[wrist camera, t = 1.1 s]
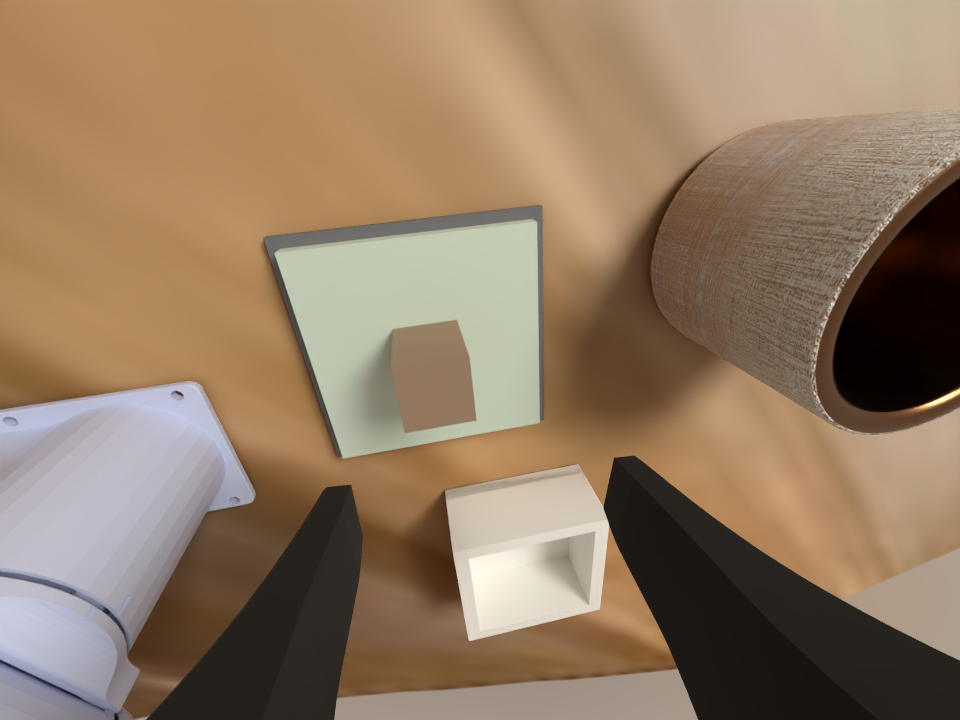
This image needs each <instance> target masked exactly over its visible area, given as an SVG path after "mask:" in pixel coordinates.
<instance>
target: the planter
mask: <svg viewBox="0 0 960 720" xmlns="http://www.w3.org/2000/svg"><path fill="white" fill-rule="evenodd" d="M651 285H652V291H653V295H654V298H655V301H656V303H657V306H658V308H659V310H660V311H661V313H662V315H663V316H664V317H665V319H666V320H667V321H668V322H669V323H670V324H671V325H672V326H673V327H674V328H675V329H676V330H678V331H679V332H680V333H681V334H683V335H685V336H686V337H688V338H689V339H691V340H693V341H694V342H696V343H698V344H699V345H701V346H703V347H704V348H706V349H708V350H709V351H711V352H713V353H714V354H716V355H718V356H719V357H721V358H723V359H724V360H726V361H728V362H729V363H731V364H733V365H734V366H736V367H738V368H740V369H741V370H743V371H745V372H746V373H748V374H750V375H751V376H753V377H755V378H756V379H758V380H760V381H761V382H763V383H765V384H766V385H768V386H770V387H771V388H773V389H774V390H776V391H778V392H779V393H781V394H783V395H784V396H786V397H788V398H789V399H791V400H792V401H794V402H796V403H797V404H799V405H801V406H802V407H804V408H805V409H807V410H809V411H810V412H812V413H814V414H815V415H817V416H818V417H820V418H822V419H823V420H825V421H827V422H828V423H830V424H832V425H833V426H835V427H837V428H839V429H842V430H844V431H847V432H851V433H855V434H863V435H877V434H887V433H893V432H898V431H903V430H906V429H910V428H913V427H916V426H920V425H922V424H925V423H928V422H930V421H933V420H935V419H937V418H940V417H942V416H944V415H946V414H948V413H950V412H952V411H954V410H956V409H958V408H960V108H951V109H938V110H925V111H912V112H898V113H885V114H870V115H856V116H842V117H829V118H815V119H803V120H792V121H782V122H777V123H773V124H769V125H765V126H762V127H758V128H755V129H752V130H750V131H747V132H745V133H743V134H741V135H738V136H737V137H735V138H733V139H731V140H730V141H728V142H727V143H725V144H724V145H722V146H721V147H719V148H718V149H717V150H715V151H714V152H713V153H712V154H710V155H709V156H708V157H707V158H706V159H705V160H704V161H703V162H702V163H700V164H699V165H698V166H697V168H696V169H695V170H694V171H693V172H692V173H691V174H690V175H689V177H688V178H687V179H686V180H685V182H684V183H683V184H682V186H681V187H680V188H679V190H678V191H677V193H676V194H675V196H674V197H673V199H672V201H671V203H670V204H669V206H668V208H667V210H666V212H665V214H664V216H663V218H662V221H661V223H660V226H659V229H658V232H657V234H656V238H655V242H654V246H653V251H652V257H651Z"/></svg>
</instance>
